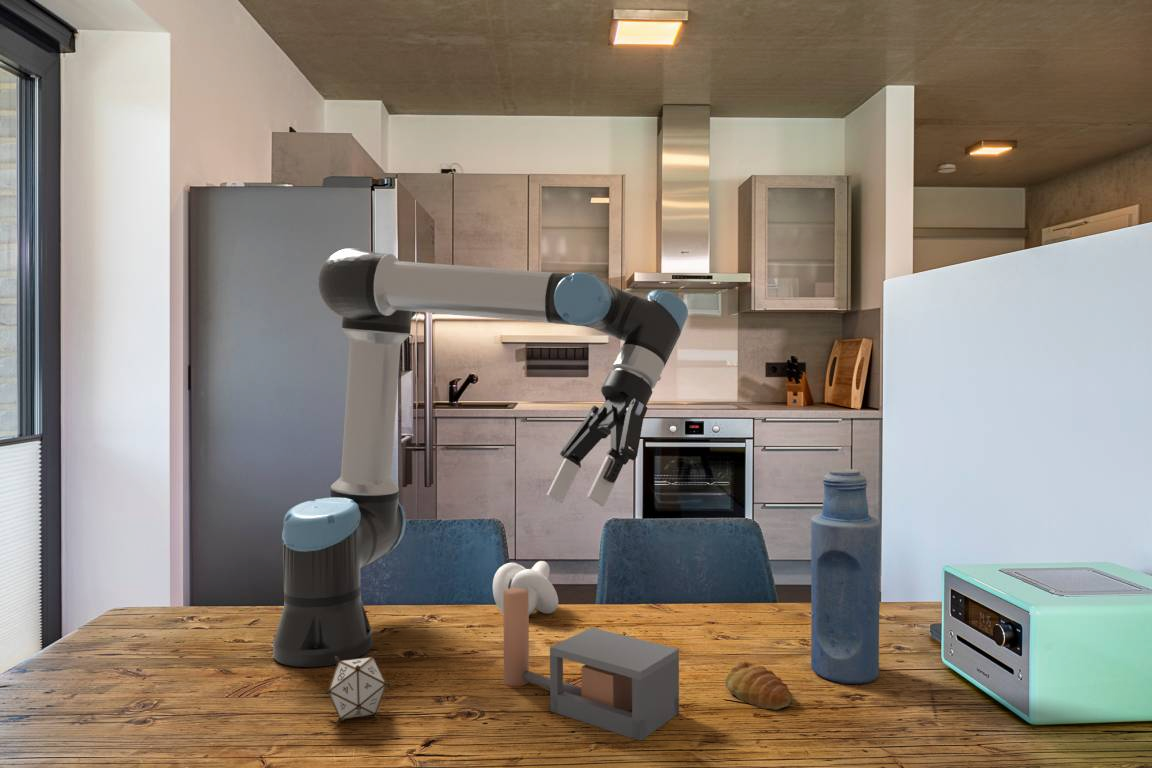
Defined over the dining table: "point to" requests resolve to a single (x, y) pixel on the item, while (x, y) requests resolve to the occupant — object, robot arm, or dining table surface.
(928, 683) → the dining table surface
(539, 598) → the white knot
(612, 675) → the block
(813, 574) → the bottle
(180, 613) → the dining table surface
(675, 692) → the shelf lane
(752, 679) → the pastry
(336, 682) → the game die
